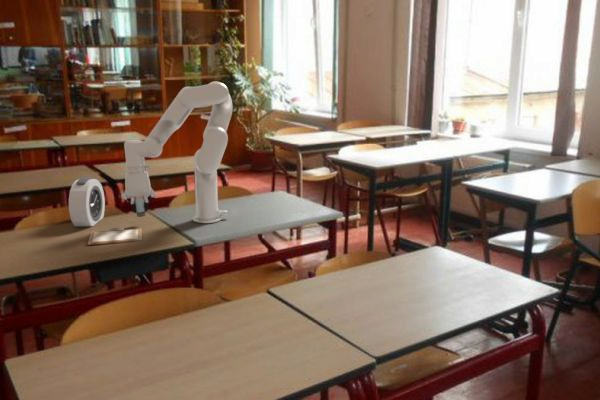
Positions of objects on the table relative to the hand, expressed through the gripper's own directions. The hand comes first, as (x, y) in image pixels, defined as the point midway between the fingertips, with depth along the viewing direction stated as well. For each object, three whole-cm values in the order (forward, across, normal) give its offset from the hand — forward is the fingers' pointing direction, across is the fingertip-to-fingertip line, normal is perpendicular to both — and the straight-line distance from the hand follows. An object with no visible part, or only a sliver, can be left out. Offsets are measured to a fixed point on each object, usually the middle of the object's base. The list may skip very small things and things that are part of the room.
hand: (140, 211), depth 242 cm
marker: (+2, 0, 0) cm, 2 cm away
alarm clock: (+6, +22, -12) cm, 26 cm away
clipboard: (+6, +10, +13) cm, 18 cm away
